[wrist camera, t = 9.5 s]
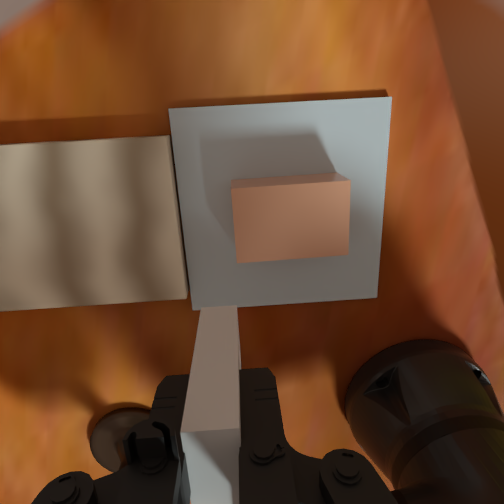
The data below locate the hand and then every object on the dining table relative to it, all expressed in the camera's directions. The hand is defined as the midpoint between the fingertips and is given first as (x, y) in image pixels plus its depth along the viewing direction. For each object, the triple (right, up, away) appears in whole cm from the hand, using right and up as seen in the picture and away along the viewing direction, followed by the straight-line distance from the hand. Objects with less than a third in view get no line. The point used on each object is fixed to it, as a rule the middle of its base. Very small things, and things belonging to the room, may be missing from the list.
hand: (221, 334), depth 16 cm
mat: (+4, +7, +17) cm, 19 cm away
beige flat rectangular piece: (-14, +6, +17) cm, 23 cm away
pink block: (+4, +7, +17) cm, 19 cm away
